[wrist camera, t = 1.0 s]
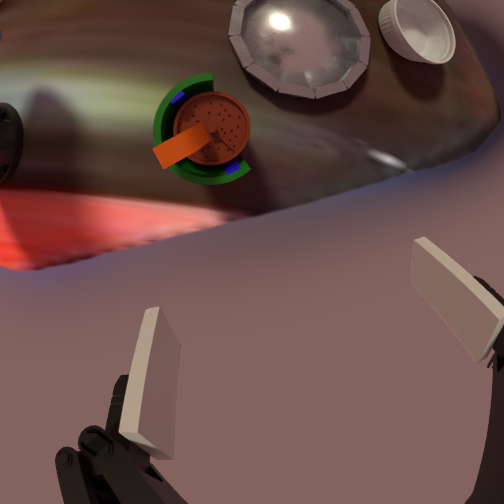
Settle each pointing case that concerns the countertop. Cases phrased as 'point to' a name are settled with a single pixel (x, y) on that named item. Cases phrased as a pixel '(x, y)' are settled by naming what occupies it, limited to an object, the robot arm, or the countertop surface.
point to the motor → (201, 132)
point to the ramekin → (417, 30)
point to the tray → (300, 44)
